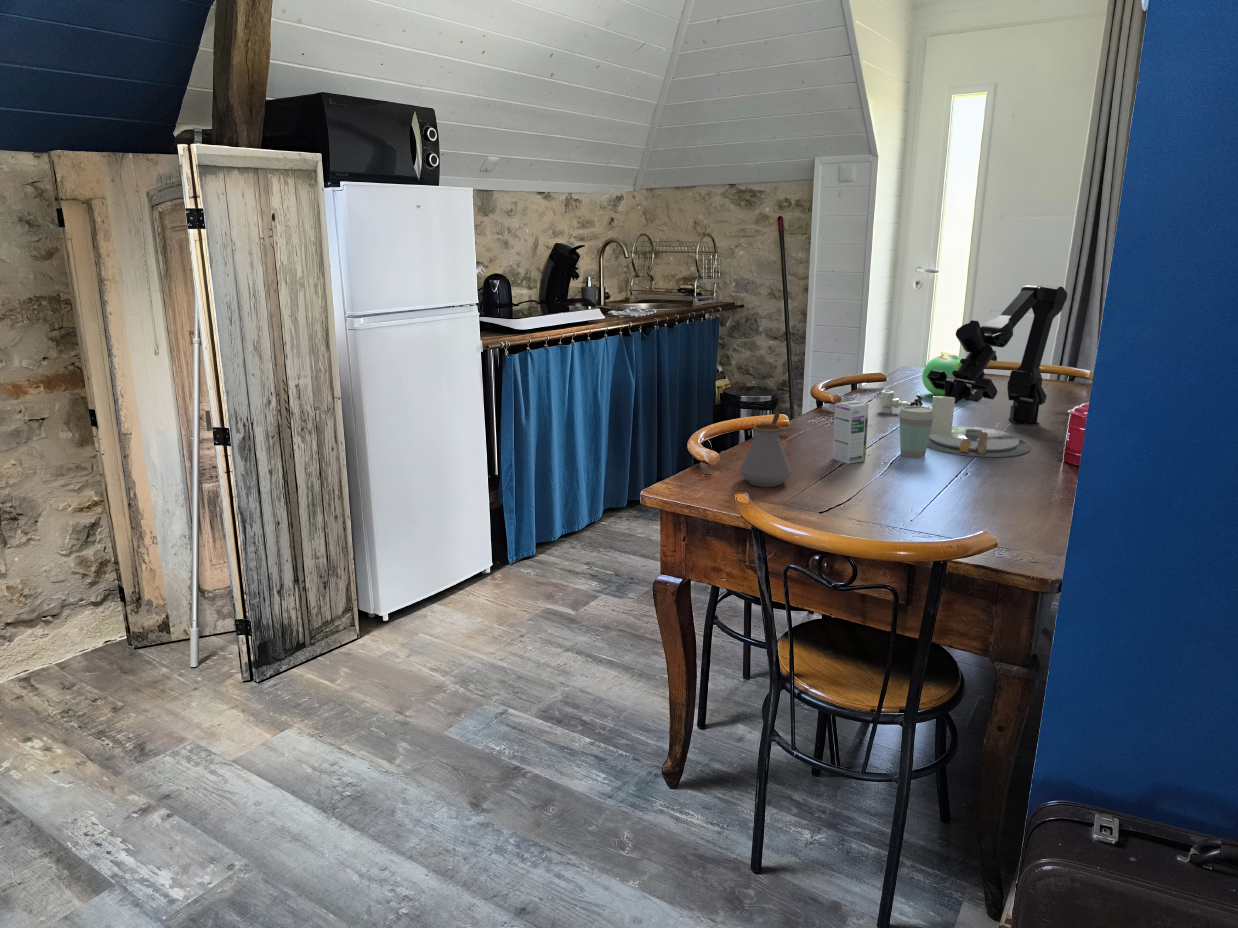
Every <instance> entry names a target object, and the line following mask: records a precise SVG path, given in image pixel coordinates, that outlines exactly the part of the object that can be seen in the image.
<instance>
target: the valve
mask: <svg viewBox="0 0 1238 928" xmlns="http://www.w3.org/2000/svg"><path fill="white" fill-rule="evenodd" d="M880 394H881V396H880V397H881V398H880V399H879V405H880V406H879V407H880V408H879V412H880V413H881V414H892V413H893V408H895V409H899V408H900V407H901V406H902V407H905V406H922V407H923V404H924V403H923V402H922V400H923V396H922V395H921V394H916V397H915V398H914V401H910V402H909V401H908V400H903V401H902V400H901V399H900V398H899V397H898V398H894V396H895V392H894V391H892V390H882V391H881V393H880ZM902 407H901V408H902Z"/></svg>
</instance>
